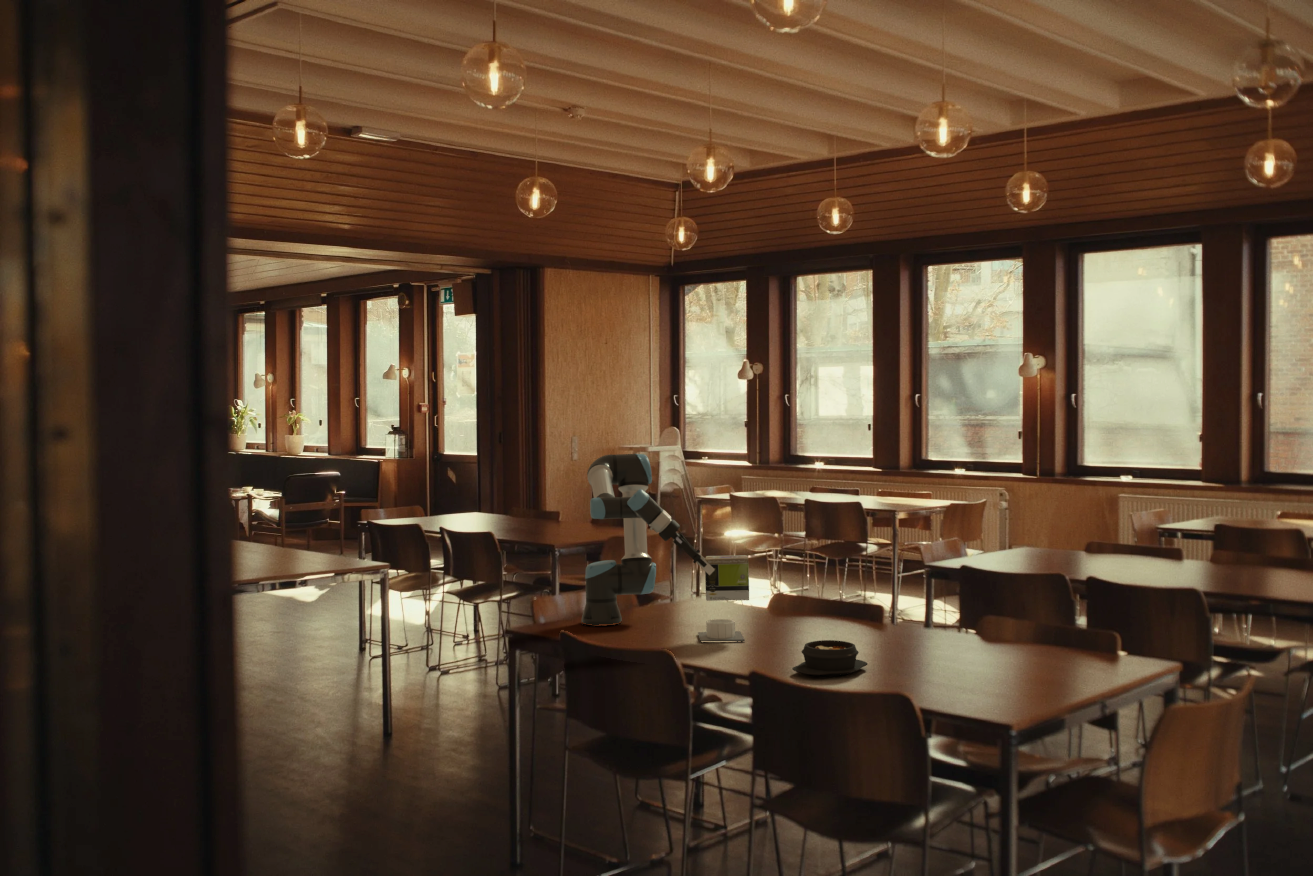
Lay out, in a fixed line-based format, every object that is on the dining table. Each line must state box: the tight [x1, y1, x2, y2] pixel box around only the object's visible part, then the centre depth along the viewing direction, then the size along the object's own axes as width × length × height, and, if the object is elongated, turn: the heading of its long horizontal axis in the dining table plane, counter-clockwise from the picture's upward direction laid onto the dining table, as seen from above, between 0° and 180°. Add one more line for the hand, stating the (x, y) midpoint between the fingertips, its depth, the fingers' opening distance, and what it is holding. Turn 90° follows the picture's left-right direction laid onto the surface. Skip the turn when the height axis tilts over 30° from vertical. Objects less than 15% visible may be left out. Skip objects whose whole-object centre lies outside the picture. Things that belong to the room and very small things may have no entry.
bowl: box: [697, 618, 745, 641], centre depth 397 cm, size 15×15×6 cm
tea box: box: [704, 554, 750, 602], centre depth 395 cm, size 15×10×15 cm, turn 85°
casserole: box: [791, 639, 869, 677], centre depth 341 cm, size 25×19×8 cm
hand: (711, 570), depth 396 cm, fingers closed on tea box, 10 cm apart
